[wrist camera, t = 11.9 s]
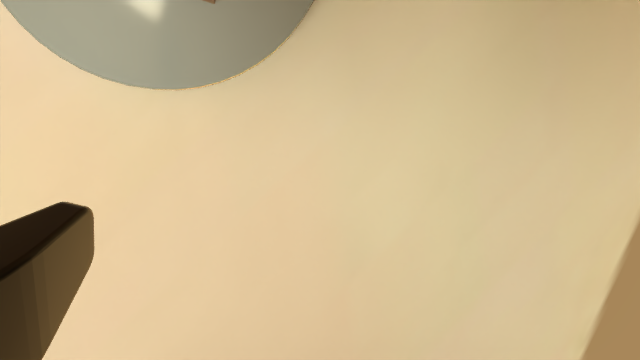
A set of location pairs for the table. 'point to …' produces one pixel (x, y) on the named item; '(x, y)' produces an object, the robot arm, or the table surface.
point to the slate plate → (161, 37)
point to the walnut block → (210, 1)
